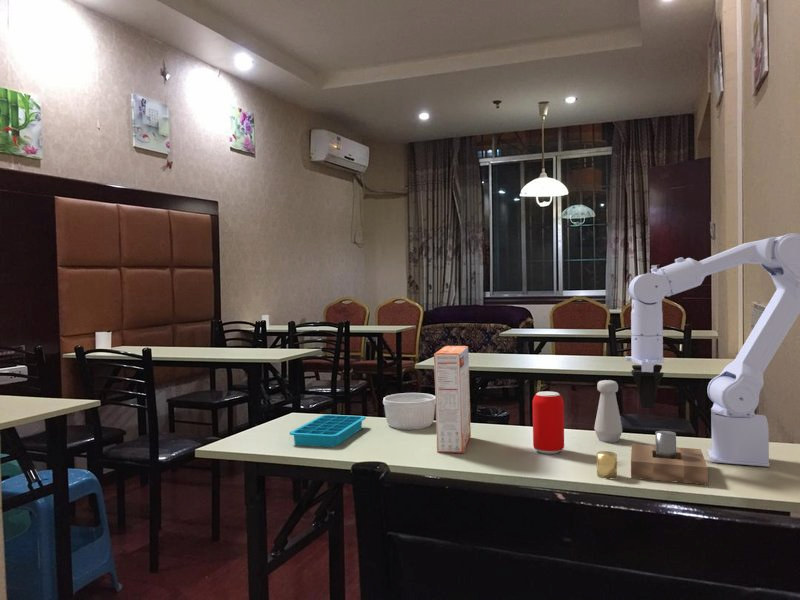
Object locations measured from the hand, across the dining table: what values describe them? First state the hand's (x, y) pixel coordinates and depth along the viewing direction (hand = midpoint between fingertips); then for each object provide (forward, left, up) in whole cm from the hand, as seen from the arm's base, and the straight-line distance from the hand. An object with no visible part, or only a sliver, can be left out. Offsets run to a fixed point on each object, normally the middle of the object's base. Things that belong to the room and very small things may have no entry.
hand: (647, 404), depth 117 cm
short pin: (+7, +15, -11) cm, 20 cm away
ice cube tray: (+69, +4, -11) cm, 70 cm away
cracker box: (+39, +3, -11) cm, 40 cm away
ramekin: (+55, -12, -11) cm, 57 cm away
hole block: (-3, +9, -10) cm, 14 cm away
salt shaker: (+8, -11, -11) cm, 17 cm away
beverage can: (+19, +2, -11) cm, 22 cm away
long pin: (-3, +9, -10) cm, 14 cm away
